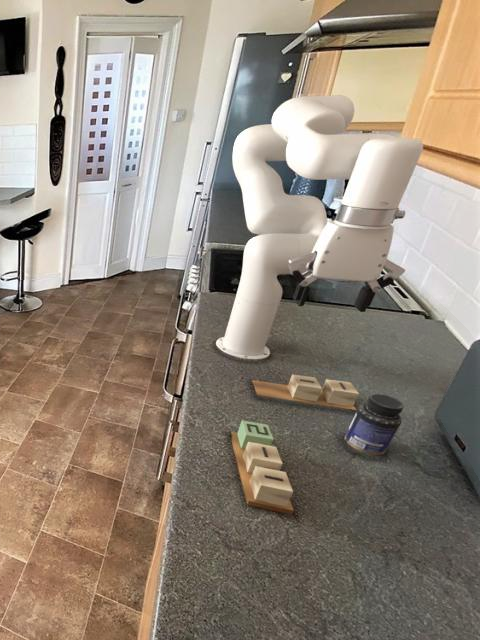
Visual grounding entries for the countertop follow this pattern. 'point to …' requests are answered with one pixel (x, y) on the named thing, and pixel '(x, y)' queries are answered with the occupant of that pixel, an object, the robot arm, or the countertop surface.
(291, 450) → the countertop surface
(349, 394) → the word
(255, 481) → the word
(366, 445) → the pill bottle
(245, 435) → the green number cube
